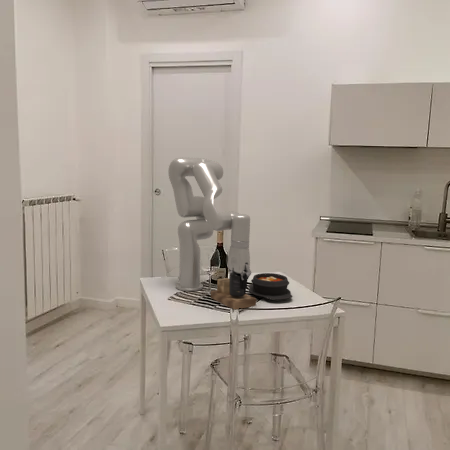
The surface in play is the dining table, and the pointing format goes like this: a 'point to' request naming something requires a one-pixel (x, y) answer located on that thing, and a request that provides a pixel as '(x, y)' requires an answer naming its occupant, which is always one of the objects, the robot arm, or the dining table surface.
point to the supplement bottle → (235, 285)
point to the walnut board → (233, 300)
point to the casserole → (270, 286)
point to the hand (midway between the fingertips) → (238, 286)
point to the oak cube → (223, 285)
